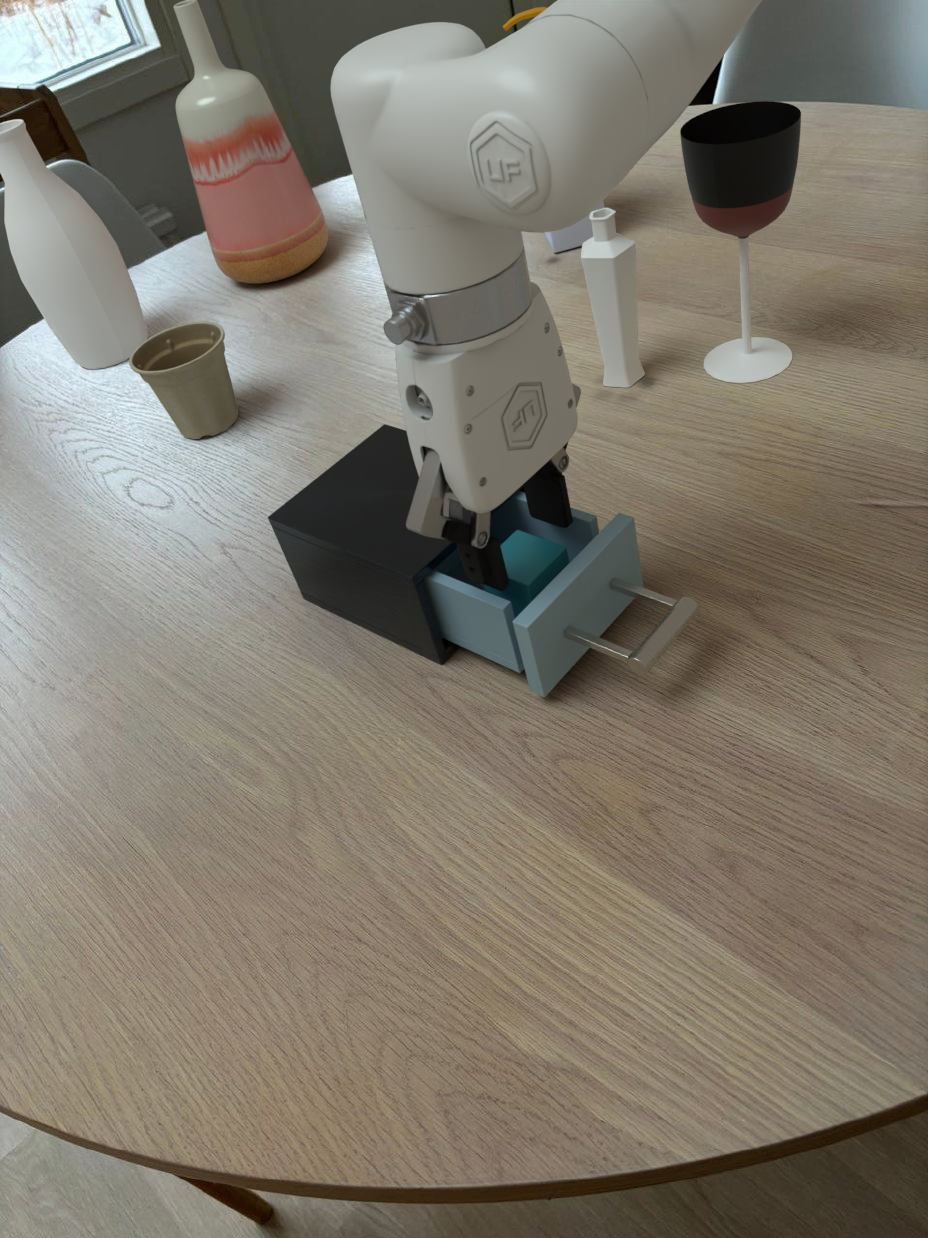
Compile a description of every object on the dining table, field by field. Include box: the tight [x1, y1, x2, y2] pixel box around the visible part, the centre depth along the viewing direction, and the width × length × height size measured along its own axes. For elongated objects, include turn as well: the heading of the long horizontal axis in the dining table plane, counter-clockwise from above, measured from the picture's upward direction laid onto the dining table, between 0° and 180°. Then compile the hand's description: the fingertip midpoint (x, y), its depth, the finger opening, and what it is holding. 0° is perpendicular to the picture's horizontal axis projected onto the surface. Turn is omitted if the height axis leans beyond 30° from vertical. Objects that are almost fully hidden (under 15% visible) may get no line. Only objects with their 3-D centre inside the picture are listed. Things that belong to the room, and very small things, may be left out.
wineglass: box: [679, 100, 802, 384], centre depth 82 cm, size 8×9×20 cm
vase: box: [173, 0, 330, 285], centre depth 117 cm, size 14×14×30 cm
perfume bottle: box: [580, 207, 646, 389], centre depth 86 cm, size 5×4×15 cm
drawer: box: [423, 491, 700, 698], centre depth 67 cm, size 20×11×6 cm, turn 50°
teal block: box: [484, 530, 570, 618], centre depth 68 cm, size 4×4×4 cm
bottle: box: [0, 118, 149, 370], centre depth 111 cm, size 11×11×25 cm
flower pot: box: [128, 321, 240, 440], centre depth 99 cm, size 9×9×9 cm
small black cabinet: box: [267, 423, 525, 666], centre depth 74 cm, size 15×13×8 cm
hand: (520, 548), depth 66 cm, fingers open, 6 cm apart
